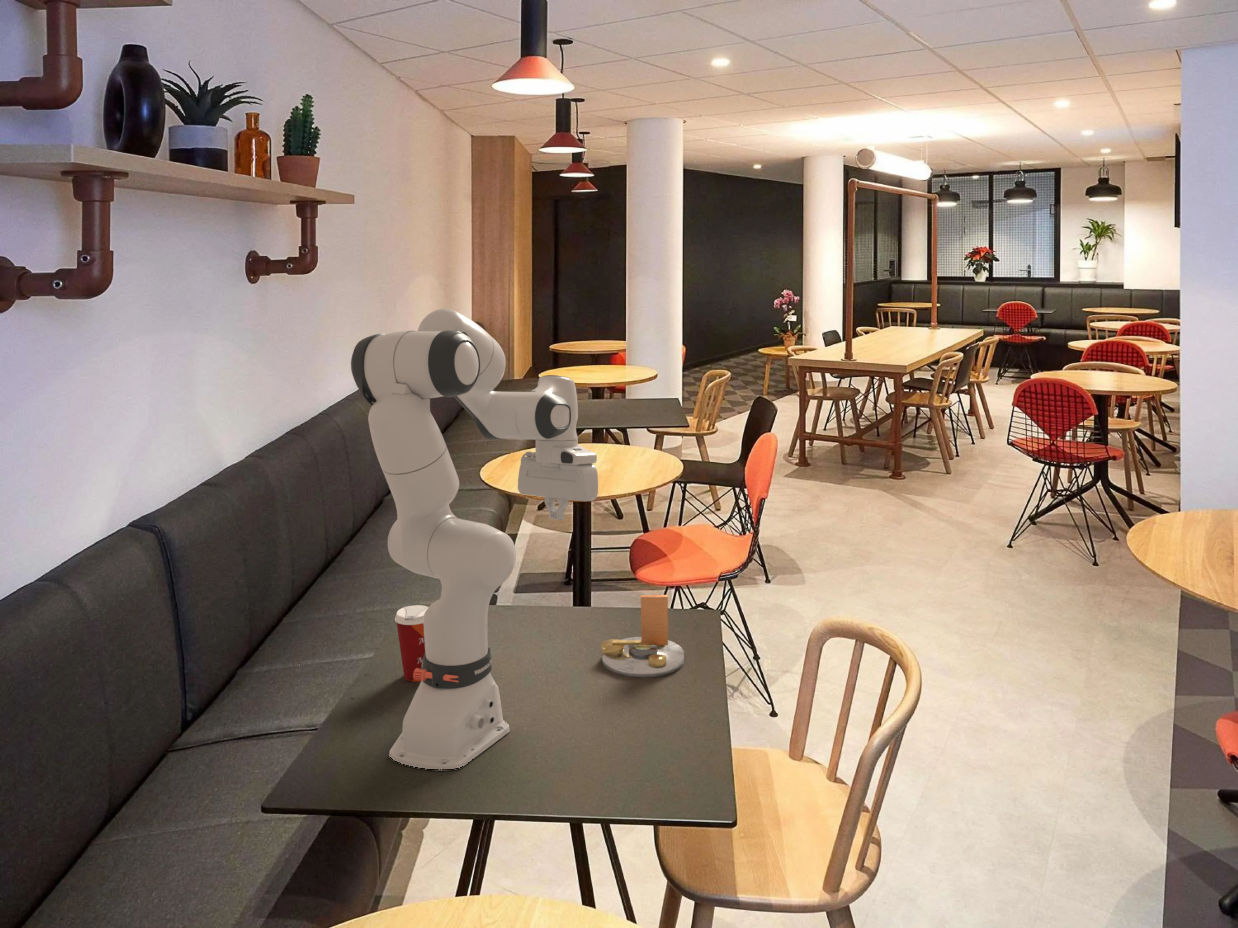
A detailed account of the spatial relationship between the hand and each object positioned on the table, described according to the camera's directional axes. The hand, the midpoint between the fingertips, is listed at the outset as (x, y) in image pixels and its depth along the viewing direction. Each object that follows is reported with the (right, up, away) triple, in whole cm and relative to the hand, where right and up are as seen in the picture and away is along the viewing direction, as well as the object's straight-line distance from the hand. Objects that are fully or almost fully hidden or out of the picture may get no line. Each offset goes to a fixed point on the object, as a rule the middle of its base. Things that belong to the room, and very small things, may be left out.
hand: (556, 519), depth 201 cm
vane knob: (+16, -27, -2) cm, 32 cm away
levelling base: (+18, -29, -2) cm, 34 cm away
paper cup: (-27, -32, -7) cm, 42 cm away
